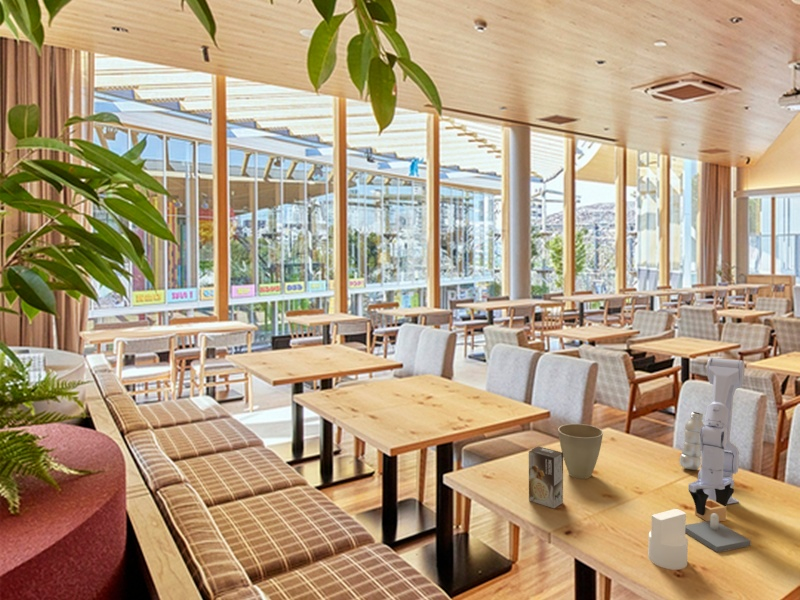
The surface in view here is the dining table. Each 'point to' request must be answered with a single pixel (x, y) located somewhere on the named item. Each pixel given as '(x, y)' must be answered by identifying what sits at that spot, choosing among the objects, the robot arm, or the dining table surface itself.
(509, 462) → the dining table surface
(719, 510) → the orange loop
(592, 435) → the plant pot
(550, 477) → the coffee box
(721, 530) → the hook board
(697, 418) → the plastic bottle
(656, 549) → the cylinder with rectangular tab
